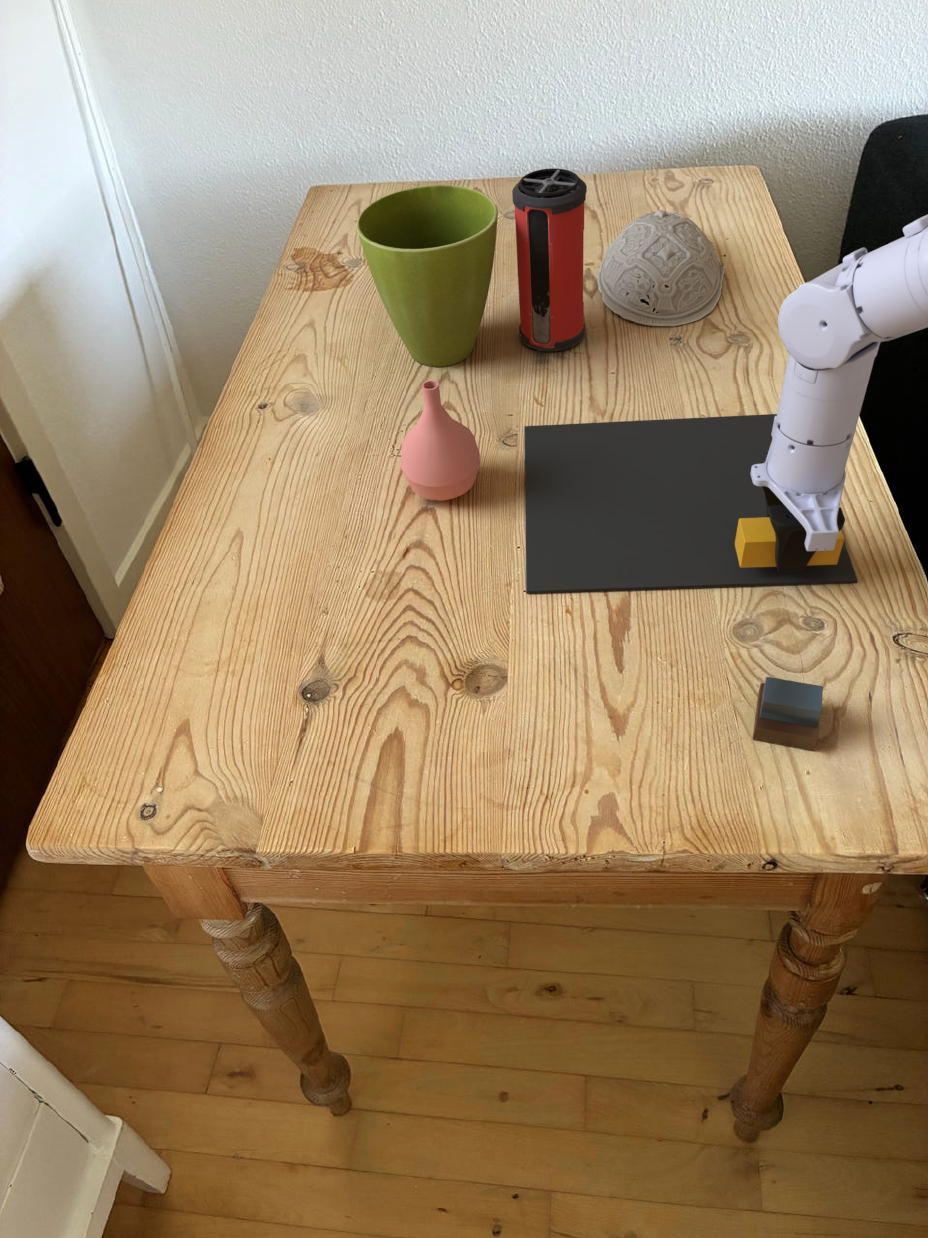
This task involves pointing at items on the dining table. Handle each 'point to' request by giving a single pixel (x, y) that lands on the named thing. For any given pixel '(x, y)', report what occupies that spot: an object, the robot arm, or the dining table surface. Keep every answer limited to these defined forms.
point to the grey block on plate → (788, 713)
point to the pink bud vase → (439, 451)
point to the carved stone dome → (661, 271)
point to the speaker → (550, 258)
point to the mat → (649, 506)
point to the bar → (771, 545)
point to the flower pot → (432, 266)
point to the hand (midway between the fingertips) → (785, 554)
